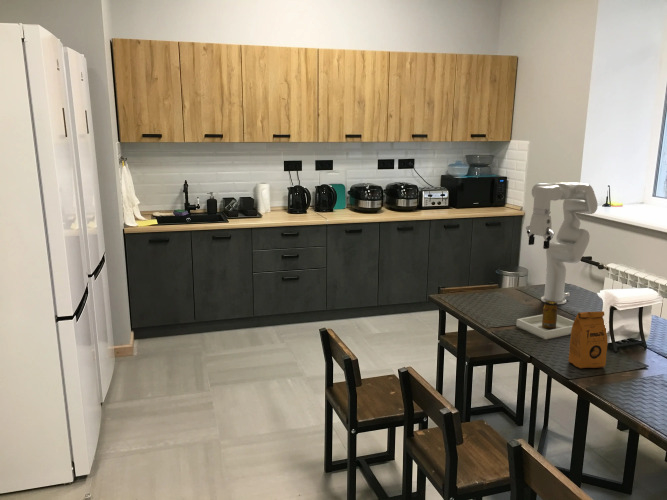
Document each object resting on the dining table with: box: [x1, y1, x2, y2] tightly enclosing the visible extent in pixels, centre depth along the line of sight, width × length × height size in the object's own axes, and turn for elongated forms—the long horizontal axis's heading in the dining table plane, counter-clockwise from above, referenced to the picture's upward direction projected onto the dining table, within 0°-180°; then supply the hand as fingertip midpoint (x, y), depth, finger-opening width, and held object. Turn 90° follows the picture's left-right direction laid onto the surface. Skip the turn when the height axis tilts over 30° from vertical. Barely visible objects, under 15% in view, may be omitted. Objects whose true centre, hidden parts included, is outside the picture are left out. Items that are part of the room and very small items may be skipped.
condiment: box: [538, 301, 561, 330], centre depth 259 cm, size 7×8×12 cm
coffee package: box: [568, 311, 609, 369], centre depth 219 cm, size 10×12×22 cm
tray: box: [515, 313, 574, 340], centre depth 260 cm, size 22×18×4 cm
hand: (538, 246), depth 278 cm, fingers open, 9 cm apart
